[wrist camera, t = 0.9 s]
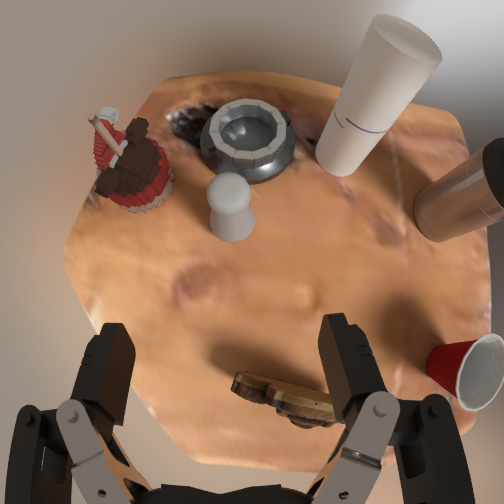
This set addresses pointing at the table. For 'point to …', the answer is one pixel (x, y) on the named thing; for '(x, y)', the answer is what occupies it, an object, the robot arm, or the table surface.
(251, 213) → the salt shaker
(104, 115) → the cake
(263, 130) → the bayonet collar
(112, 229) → the table surface
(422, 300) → the table surface
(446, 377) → the plastic cup
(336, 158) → the cylindrical container
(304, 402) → the wooden carving
